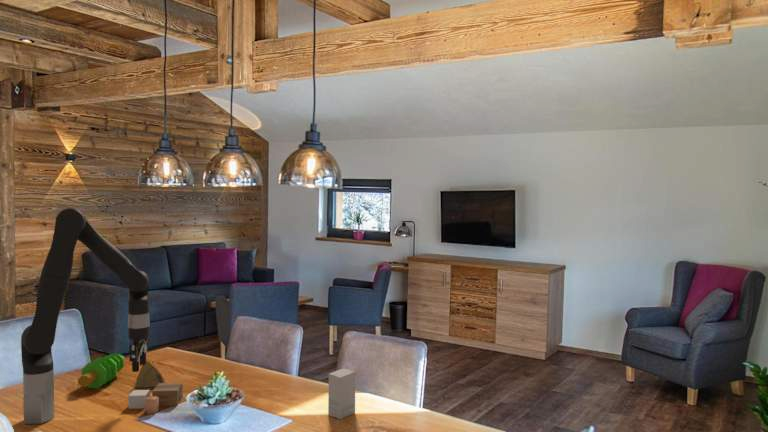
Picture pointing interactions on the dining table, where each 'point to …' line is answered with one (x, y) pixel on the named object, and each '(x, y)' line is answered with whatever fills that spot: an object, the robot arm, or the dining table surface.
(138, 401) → the grey block
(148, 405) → the pinkish tan cube
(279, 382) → the dining table surface
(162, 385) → the walnut block
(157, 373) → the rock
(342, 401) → the skincare box
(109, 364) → the decorative tree
